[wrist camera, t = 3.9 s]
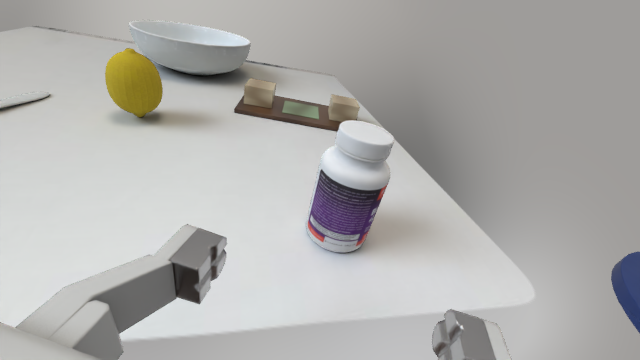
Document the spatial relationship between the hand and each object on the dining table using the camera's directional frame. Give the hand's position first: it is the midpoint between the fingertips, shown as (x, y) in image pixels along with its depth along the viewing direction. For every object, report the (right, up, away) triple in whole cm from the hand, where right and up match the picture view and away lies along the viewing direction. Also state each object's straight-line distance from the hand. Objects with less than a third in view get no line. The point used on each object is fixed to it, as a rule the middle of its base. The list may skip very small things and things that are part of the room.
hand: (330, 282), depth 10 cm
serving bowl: (-26, +26, +46) cm, 59 cm away
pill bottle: (+1, -1, +15) cm, 15 cm away
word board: (-4, +15, +38) cm, 41 cm away
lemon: (-23, +11, +25) cm, 36 cm away
